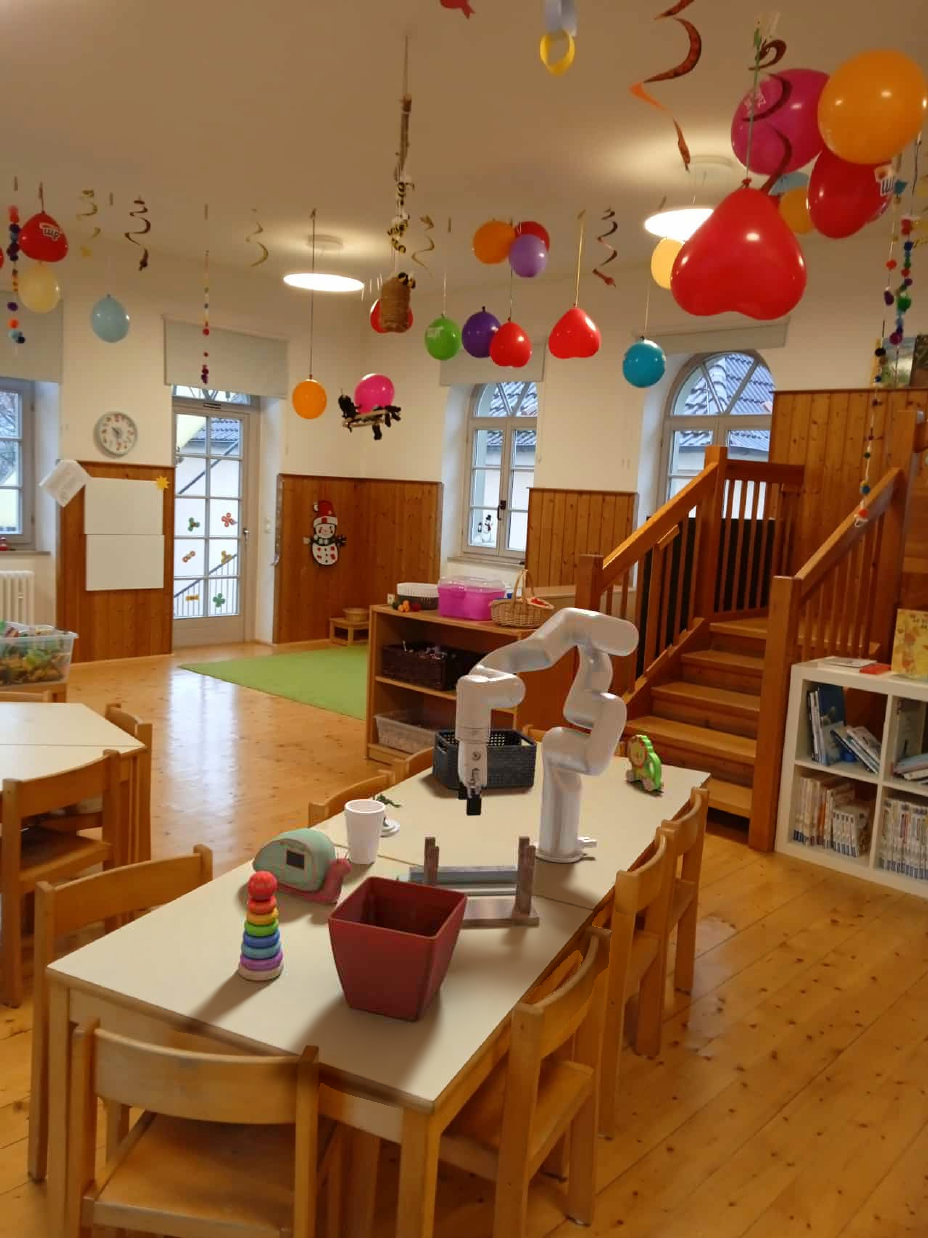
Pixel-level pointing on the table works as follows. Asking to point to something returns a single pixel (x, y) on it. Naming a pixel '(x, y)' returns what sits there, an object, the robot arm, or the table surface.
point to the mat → (473, 887)
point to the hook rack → (493, 909)
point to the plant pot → (395, 944)
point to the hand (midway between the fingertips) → (469, 807)
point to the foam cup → (364, 829)
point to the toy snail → (304, 865)
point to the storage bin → (489, 759)
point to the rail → (468, 875)
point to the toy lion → (644, 763)
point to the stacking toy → (261, 931)
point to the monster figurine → (388, 824)
